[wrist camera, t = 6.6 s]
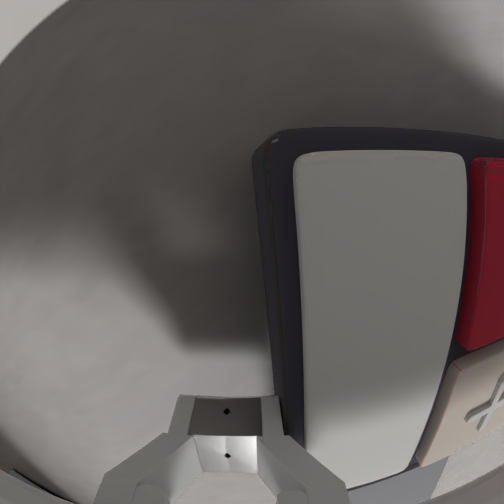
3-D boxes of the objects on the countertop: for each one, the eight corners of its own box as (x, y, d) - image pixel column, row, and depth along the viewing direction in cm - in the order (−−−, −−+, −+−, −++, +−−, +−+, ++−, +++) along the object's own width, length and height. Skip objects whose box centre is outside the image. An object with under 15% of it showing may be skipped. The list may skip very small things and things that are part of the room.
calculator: (564, 385, 7) (292, 515, 7) (521, 350, 12) (277, 432, 11) (609, 166, 4) (264, 122, 4) (548, 157, 9) (249, 146, 8)
